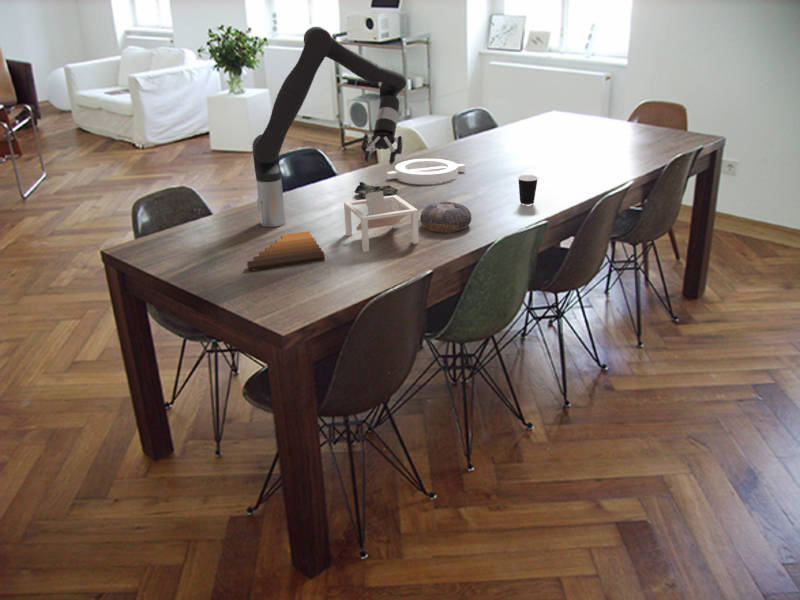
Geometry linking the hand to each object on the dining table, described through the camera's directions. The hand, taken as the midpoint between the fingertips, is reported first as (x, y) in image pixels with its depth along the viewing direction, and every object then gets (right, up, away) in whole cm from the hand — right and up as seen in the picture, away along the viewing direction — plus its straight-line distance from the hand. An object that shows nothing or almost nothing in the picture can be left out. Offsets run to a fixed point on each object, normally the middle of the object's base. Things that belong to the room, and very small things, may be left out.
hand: (379, 162), depth 273 cm
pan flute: (-33, -33, -9) cm, 48 cm away
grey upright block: (0, -20, +2) cm, 20 cm away
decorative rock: (-2, -5, +53) cm, 53 cm away
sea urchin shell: (+24, -22, +12) cm, 35 cm away
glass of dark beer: (+58, -11, +34) cm, 68 cm away
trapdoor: (+1, -21, -2) cm, 21 cm away
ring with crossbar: (+19, +7, +77) cm, 80 cm away
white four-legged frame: (+1, -27, +2) cm, 27 cm away
